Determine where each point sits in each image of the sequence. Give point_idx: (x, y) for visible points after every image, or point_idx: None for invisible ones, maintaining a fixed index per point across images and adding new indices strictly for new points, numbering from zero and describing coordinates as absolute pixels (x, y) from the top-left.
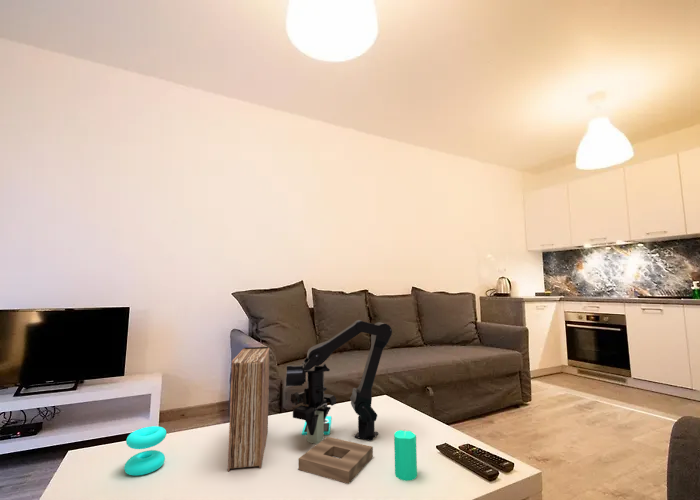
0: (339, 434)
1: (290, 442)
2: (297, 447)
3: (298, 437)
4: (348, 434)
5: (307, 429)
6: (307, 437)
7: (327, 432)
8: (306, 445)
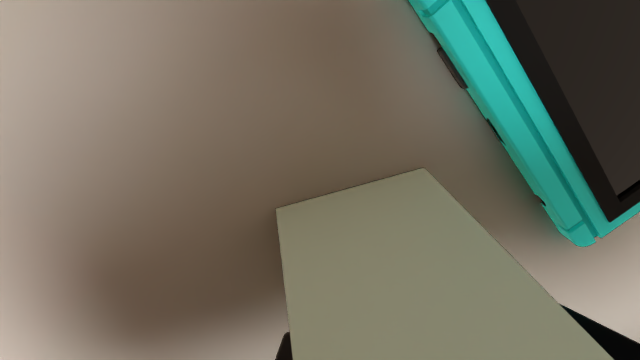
0: (605, 297)
1: (72, 52)
2: (81, 246)
3: (286, 3)
4: None
5: (290, 328)
6: (281, 243)
7: (579, 234)
8: (205, 274)
